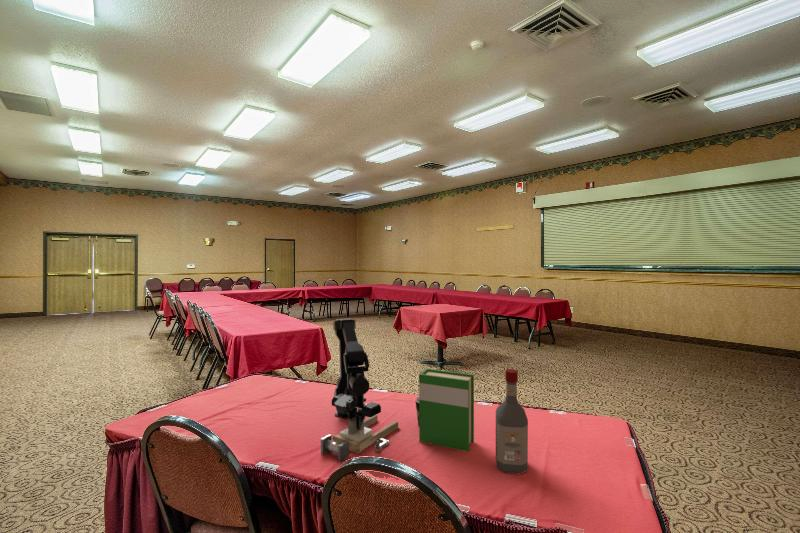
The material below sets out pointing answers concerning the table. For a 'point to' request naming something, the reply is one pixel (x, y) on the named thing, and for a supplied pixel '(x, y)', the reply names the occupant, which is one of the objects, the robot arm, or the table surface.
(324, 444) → the winch
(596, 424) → the table surface
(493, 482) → the table surface
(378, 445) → the crank handle
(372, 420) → the bay
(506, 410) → the liquor
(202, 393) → the table surface
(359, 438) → the two-tone stepped block
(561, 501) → the table surface
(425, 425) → the hardback book
